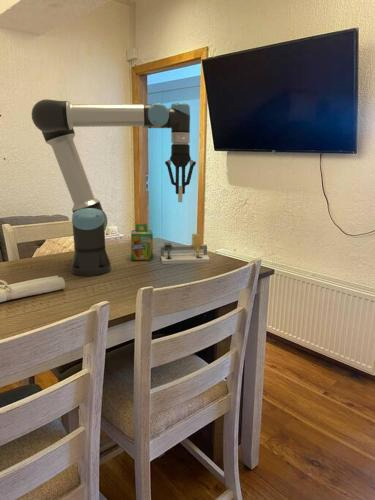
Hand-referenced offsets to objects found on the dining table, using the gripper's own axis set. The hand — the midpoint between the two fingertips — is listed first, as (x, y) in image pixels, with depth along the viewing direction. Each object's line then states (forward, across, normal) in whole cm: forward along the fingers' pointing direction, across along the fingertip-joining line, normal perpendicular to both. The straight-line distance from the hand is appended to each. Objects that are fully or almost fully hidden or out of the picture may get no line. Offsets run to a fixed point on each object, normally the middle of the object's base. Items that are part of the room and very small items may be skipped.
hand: (180, 201), depth 161 cm
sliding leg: (+22, +7, -3) cm, 24 cm away
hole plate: (+25, +2, -4) cm, 25 cm away
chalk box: (+25, -16, +2) cm, 30 cm away
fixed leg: (+23, -5, -3) cm, 24 cm away
